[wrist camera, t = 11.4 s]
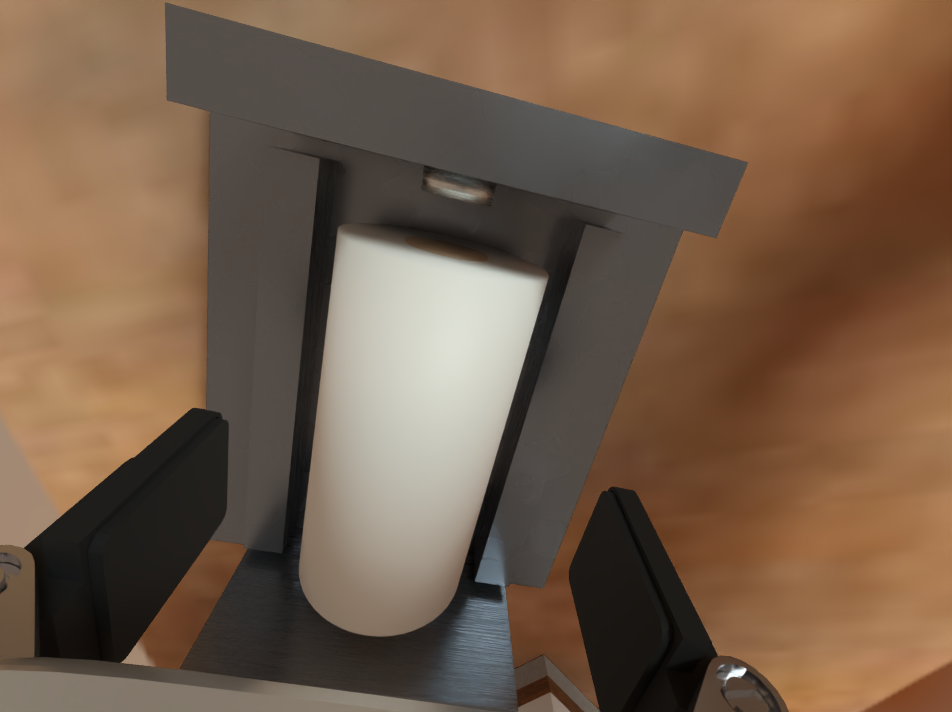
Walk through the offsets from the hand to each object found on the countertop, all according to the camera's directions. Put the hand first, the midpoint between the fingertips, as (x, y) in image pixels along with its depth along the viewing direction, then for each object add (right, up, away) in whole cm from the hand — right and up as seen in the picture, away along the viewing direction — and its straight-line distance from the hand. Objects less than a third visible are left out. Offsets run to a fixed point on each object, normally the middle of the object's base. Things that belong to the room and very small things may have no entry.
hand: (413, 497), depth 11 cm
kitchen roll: (-1, +1, +4) cm, 4 cm away
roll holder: (-1, +3, +8) cm, 8 cm away
